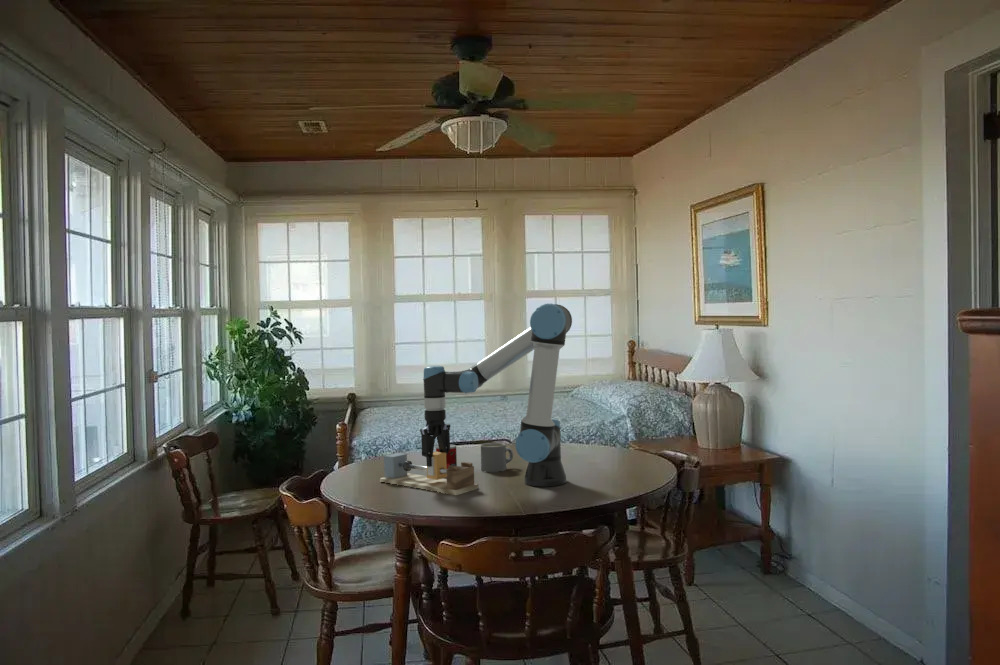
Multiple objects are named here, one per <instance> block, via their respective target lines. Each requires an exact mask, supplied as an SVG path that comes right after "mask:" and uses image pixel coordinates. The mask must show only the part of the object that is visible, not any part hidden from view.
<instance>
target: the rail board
mask: <svg viewBox="0 0 1000 665" xmlns="http://www.w3.org/2000/svg"><path fill="white" fill-rule="evenodd" d="M446 472H447V477H446V478H442V479H438V480H435V479H429V478H427V475H423V474H417V473H416V474H415V473H410V472H407V475H406V476H402V477H398V478H394V479H393V478H387V477H385V476H384V477H380V478H379V483H381V482H385V483H384V484H386V483H391V484H390V485H392V484H397V485H396V486H398V485H404V486H410V487H416V488H421V489H426V490H425V491H427V490H432V491H431V492H433V491H437V492H436V493H439V492H441V494H445V493H446V495H451V496H458V495H462V494H465V493H468V492H471V491H475V490H477V489H478V490H479V484H478V483H475V466H474V465H473V462H468V461H467V462H466V461H462V462H461V464H460V466H458V465H457V466H452V465H450V466H448V470H446ZM404 486H403V487H404ZM410 487H409V488H410ZM416 488H415V489H416ZM421 489H420V490H421Z"/></svg>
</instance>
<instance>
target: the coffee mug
mask: <svg viewBox="0 0 1000 665" xmlns="http://www.w3.org/2000/svg"><path fill="white" fill-rule="evenodd" d="M506 445H507V444H506V443H503V442H485V443H481V444H480V469H481V470H482V472H483V471H486V472H485V473H499V472H498V471H502V472H505V471H507V464H508V463H511V462H512V460H513V459H514V452H513V449H512V448H511V447H506ZM507 452H508V453H509V456H508V457H507ZM504 470H505V471H504Z"/></svg>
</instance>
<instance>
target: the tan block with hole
mask: <svg viewBox="0 0 1000 665" xmlns="http://www.w3.org/2000/svg"><path fill="white" fill-rule="evenodd" d="M429 454H430V453H429ZM432 457H434V464H435V476H431V475H428V466H427V465H426V466H427V471H426V476H427V478H429V479H435V480H438V479H447V474H444V473H440V468H441V469H447V465H446V453H444V452H436V451H433V456H432Z"/></svg>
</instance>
